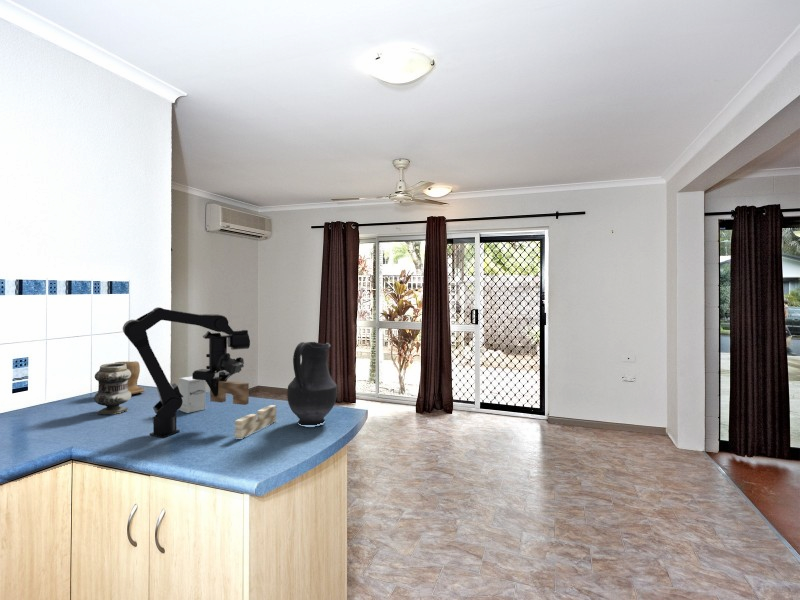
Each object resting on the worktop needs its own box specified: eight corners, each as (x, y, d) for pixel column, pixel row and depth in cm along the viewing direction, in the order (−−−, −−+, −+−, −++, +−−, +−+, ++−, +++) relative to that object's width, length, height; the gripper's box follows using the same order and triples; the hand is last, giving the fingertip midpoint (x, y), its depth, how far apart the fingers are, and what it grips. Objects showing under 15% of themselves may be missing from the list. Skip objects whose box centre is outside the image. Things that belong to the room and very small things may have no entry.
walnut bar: (248, 403, 156) (248, 383, 156) (244, 404, 154) (245, 384, 154) (214, 399, 160) (214, 380, 160) (210, 401, 158) (210, 381, 158)
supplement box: (187, 413, 172) (187, 380, 172) (178, 410, 177) (178, 377, 177) (206, 409, 178) (206, 377, 178) (196, 406, 183) (196, 375, 182)
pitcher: (343, 419, 168) (344, 338, 167) (319, 437, 148) (319, 345, 147) (301, 414, 173) (302, 336, 172) (271, 431, 153) (272, 342, 152)
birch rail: (241, 440, 144) (241, 421, 144) (235, 439, 145) (235, 420, 145) (276, 422, 163) (276, 405, 163) (270, 421, 164) (270, 404, 164)
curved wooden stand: (134, 390, 209) (134, 357, 208) (149, 393, 202) (148, 360, 202) (98, 396, 196) (98, 362, 195) (113, 400, 189) (112, 364, 189)
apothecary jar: (118, 416, 168) (118, 367, 167) (86, 415, 168) (85, 367, 167) (138, 407, 180) (137, 362, 179) (108, 407, 180) (107, 361, 179)
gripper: (219, 356, 147) (219, 404, 147) (254, 348, 165) (254, 391, 165) (191, 354, 150) (191, 401, 150) (227, 346, 168) (227, 388, 168)
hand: (218, 395), depth 158 cm, fingers closed on walnut bar, 2 cm apart
